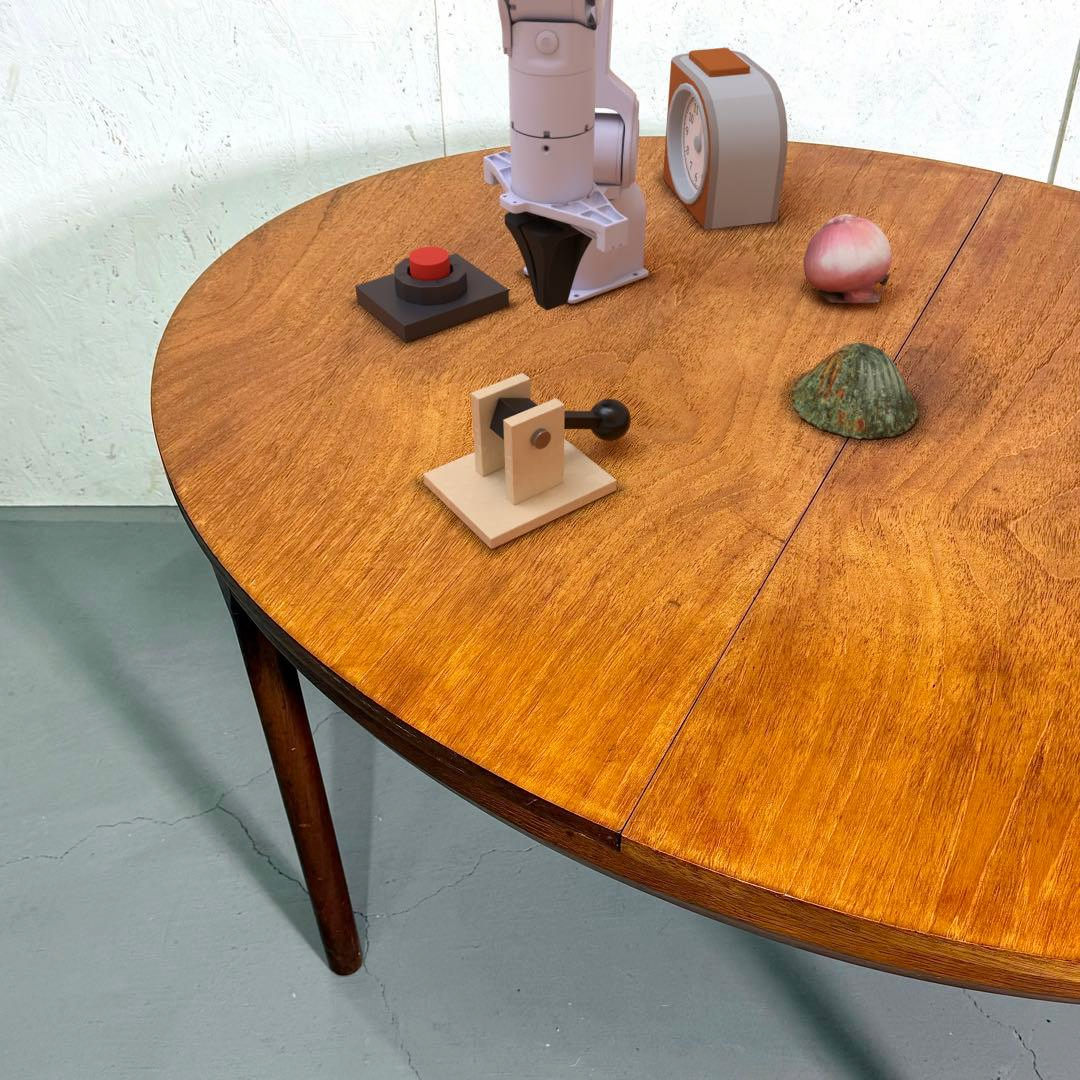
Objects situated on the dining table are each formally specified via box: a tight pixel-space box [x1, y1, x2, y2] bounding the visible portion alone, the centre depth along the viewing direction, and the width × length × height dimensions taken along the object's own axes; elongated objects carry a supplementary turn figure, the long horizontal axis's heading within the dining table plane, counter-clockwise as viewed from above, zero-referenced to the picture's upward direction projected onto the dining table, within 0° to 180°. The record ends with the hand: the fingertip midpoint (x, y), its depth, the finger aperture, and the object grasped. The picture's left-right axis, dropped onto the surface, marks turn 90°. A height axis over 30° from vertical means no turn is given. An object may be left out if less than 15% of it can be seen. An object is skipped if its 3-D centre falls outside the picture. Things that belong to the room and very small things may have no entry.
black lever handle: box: [489, 398, 632, 442], centre depth 77 cm, size 12×3×3 cm, turn 126°
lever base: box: [422, 372, 617, 550], centre depth 75 cm, size 11×9×8 cm
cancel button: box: [408, 246, 450, 281], centre depth 96 cm, size 4×4×2 cm
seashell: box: [791, 342, 919, 440], centre depth 85 cm, size 10×4×10 cm
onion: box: [803, 213, 893, 304], centre depth 97 cm, size 8×8×7 cm
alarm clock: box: [662, 47, 789, 231], centre depth 111 cm, size 15×8×14 cm, turn 14°
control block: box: [355, 253, 510, 344], centre depth 97 cm, size 11×9×4 cm
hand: (552, 303), depth 81 cm, fingers closed
